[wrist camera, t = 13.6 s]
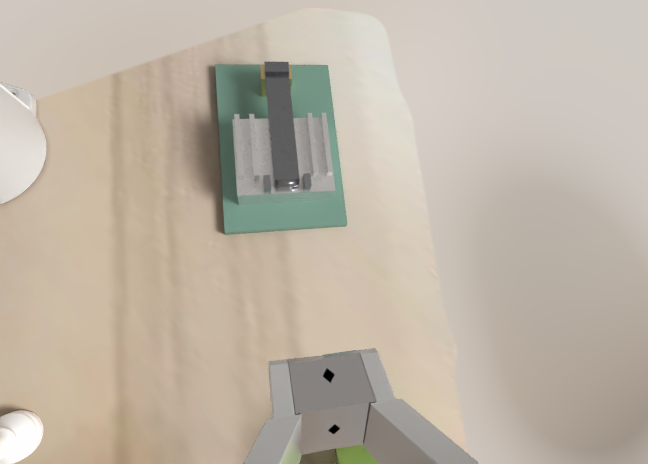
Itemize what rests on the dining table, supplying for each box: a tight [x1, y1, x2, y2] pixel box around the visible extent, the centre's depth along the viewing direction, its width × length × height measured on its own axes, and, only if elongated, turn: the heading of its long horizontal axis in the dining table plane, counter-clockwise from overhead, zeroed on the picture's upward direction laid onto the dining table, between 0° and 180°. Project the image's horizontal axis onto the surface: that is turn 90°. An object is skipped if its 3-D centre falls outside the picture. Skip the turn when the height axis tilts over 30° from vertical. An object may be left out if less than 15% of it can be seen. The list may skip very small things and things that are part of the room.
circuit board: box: [215, 65, 347, 235], centre depth 54 cm, size 24×16×1 cm, turn 6°
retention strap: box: [265, 62, 300, 188], centre depth 48 cm, size 16×3×2 cm, turn 6°
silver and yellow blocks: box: [232, 65, 335, 205], centre depth 50 cm, size 18×12×6 cm
